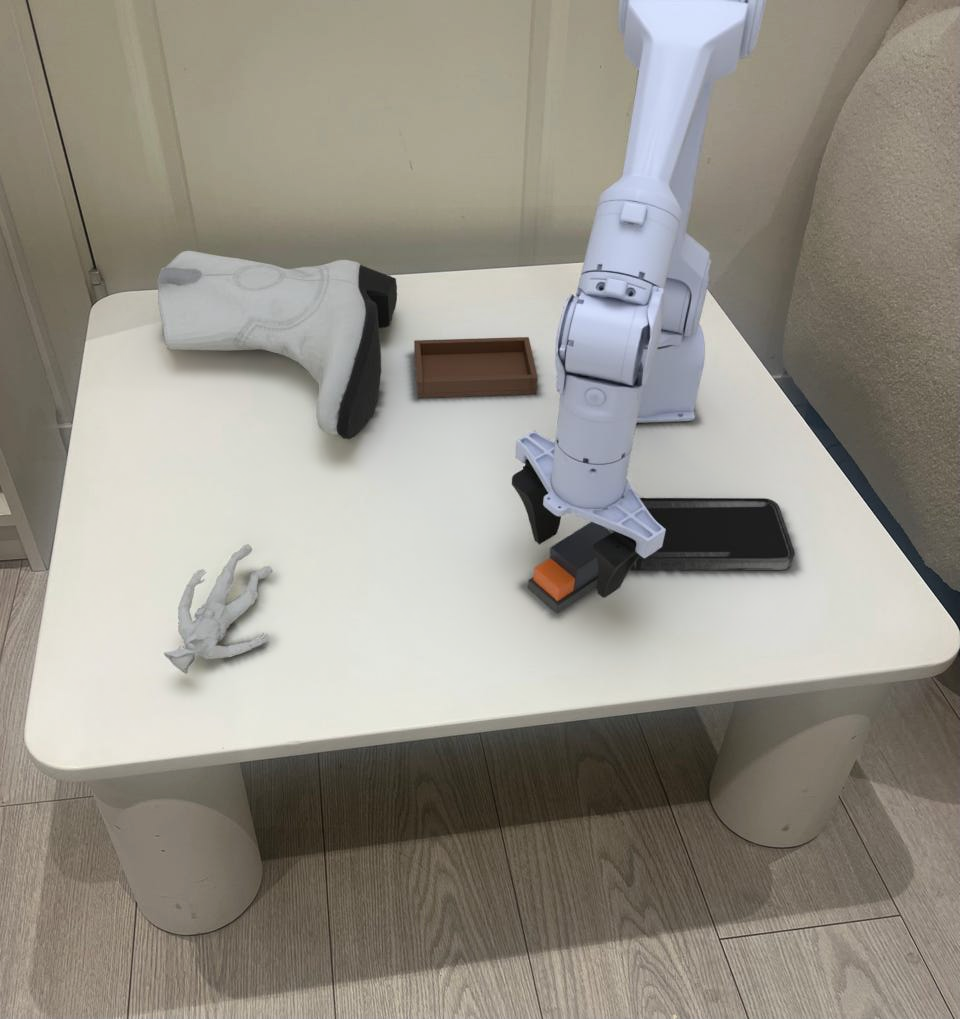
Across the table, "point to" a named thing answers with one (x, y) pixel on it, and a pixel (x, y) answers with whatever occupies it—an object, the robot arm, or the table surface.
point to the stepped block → (569, 568)
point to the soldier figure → (215, 616)
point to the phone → (718, 535)
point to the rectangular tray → (474, 367)
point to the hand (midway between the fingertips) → (576, 563)
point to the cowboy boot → (287, 322)
